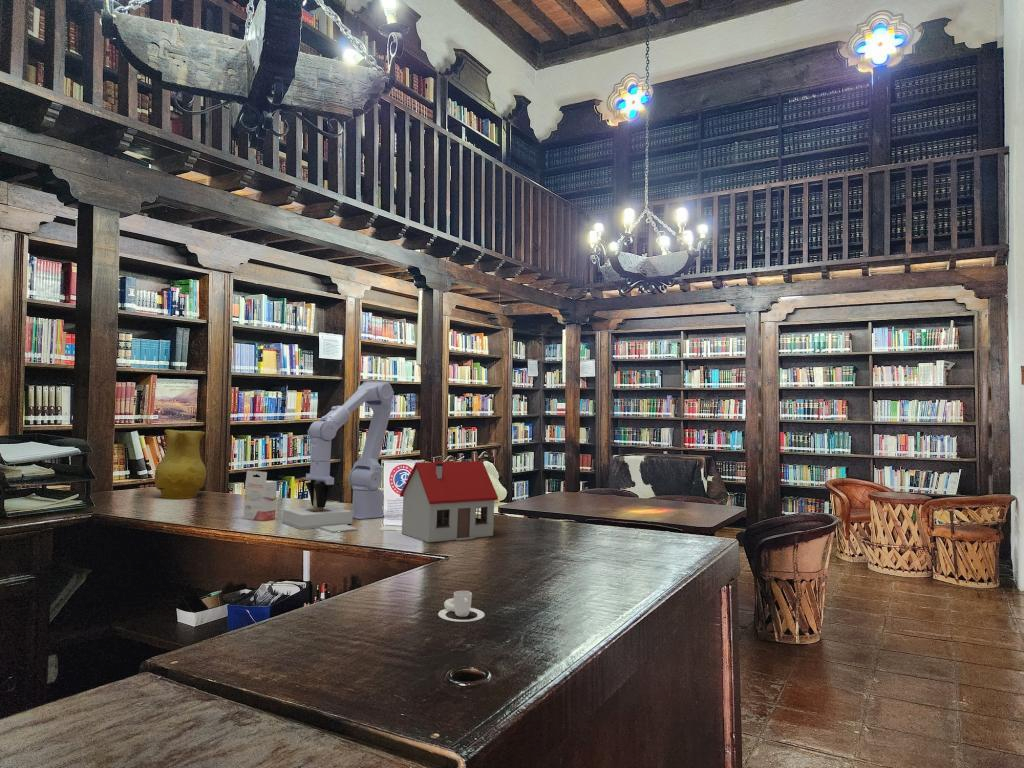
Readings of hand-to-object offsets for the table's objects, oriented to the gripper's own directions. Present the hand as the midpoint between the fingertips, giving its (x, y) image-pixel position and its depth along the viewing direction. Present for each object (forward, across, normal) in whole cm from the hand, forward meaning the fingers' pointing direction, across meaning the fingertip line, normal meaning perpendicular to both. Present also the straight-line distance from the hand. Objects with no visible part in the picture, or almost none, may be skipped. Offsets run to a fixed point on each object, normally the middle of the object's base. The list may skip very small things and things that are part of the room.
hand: (318, 506), depth 196 cm
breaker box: (+5, 0, 0) cm, 5 cm away
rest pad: (+5, +12, +1) cm, 13 cm away
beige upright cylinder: (+3, 0, 0) cm, 3 cm away
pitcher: (+5, -78, -16) cm, 80 cm away
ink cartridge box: (+5, -16, -11) cm, 21 cm away
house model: (+6, +34, +23) cm, 42 cm away
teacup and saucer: (+6, +94, -16) cm, 96 cm away
